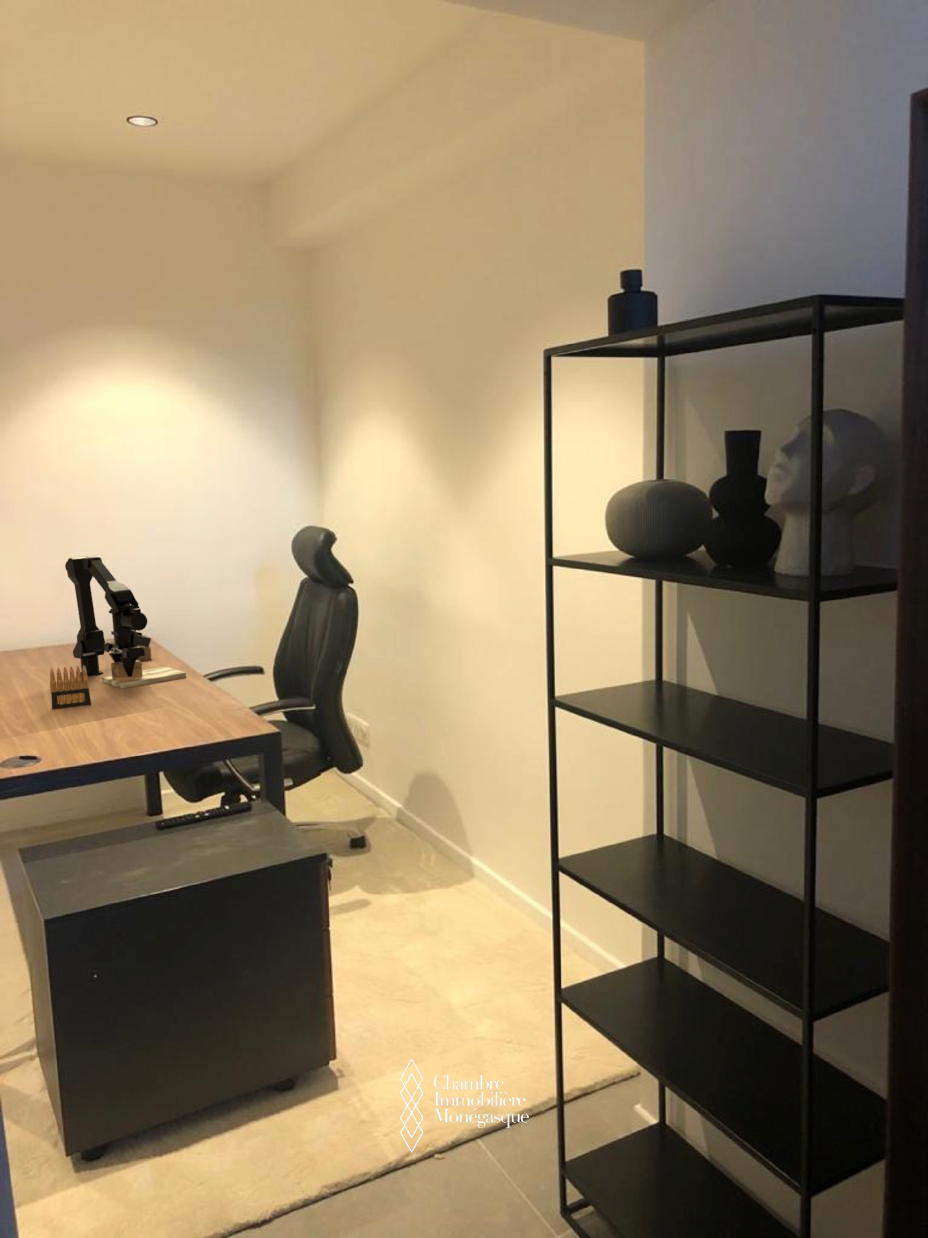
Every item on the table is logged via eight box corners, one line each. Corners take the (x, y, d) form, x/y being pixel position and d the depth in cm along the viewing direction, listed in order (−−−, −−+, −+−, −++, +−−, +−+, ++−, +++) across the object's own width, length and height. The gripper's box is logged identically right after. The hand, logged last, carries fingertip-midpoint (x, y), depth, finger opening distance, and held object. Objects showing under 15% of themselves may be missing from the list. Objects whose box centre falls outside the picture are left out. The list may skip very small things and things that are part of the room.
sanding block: (112, 678, 327) (110, 663, 327) (136, 674, 333) (134, 659, 332) (118, 680, 324) (117, 665, 323) (142, 676, 329) (141, 661, 328)
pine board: (102, 681, 330) (102, 677, 330) (166, 670, 345) (165, 666, 344) (121, 688, 319) (120, 683, 319) (186, 677, 334) (185, 672, 333)
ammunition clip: (90, 703, 300) (87, 664, 298) (91, 705, 299) (87, 665, 297) (52, 708, 296) (48, 668, 294) (52, 709, 295) (48, 669, 293)
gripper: (159, 627, 324) (162, 675, 326) (134, 621, 338) (138, 667, 340) (125, 632, 316) (129, 681, 319) (101, 626, 330) (105, 673, 333)
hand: (126, 675), depth 328 cm, fingers closed on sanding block, 5 cm apart
